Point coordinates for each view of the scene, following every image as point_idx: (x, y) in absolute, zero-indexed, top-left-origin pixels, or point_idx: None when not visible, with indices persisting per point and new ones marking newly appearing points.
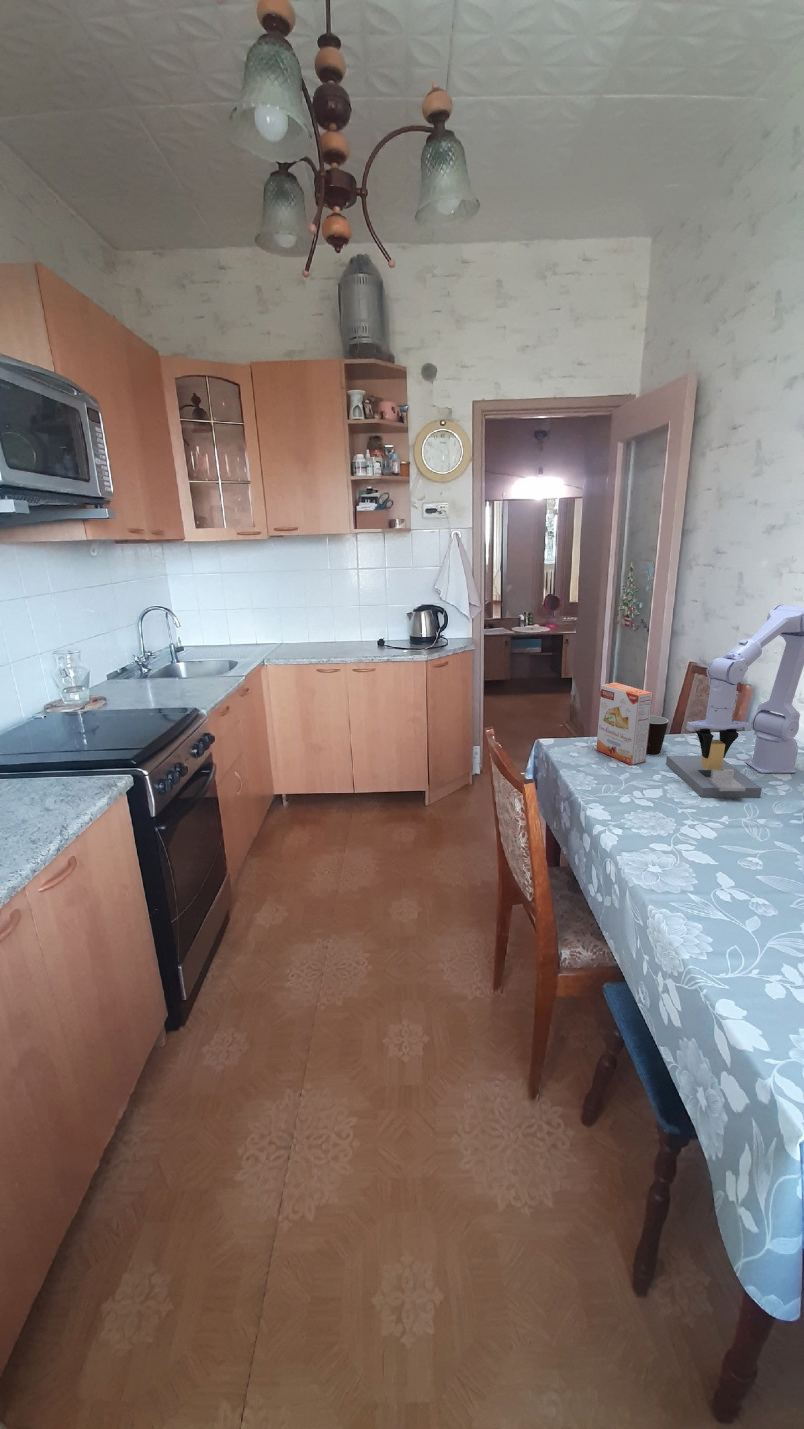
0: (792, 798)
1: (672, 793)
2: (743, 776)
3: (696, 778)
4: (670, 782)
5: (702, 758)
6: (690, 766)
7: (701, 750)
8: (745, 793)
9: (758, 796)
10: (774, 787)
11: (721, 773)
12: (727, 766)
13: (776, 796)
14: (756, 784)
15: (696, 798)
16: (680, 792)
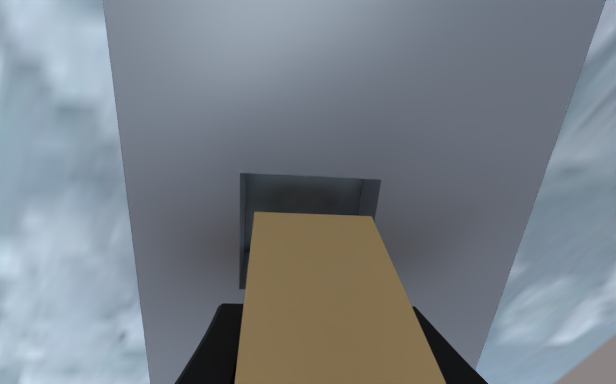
0: (568, 370)
1: (28, 326)
2: (488, 285)
3: (168, 306)
4: (50, 192)
5: (250, 252)
6: (218, 91)
7: (201, 342)
8: None
9: None
10: (604, 273)
11: None
12: (524, 113)
13: (521, 355)
14: None
15: (139, 371)
16: (76, 316)
